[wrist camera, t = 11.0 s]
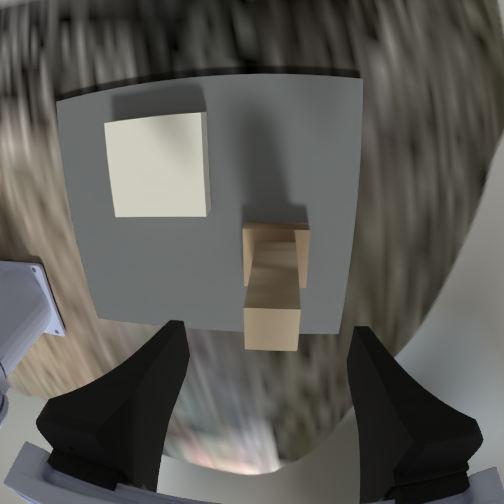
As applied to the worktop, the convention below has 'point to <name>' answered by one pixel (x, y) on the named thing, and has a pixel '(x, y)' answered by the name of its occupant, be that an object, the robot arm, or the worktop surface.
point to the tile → (159, 165)
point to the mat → (220, 196)
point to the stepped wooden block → (274, 283)
